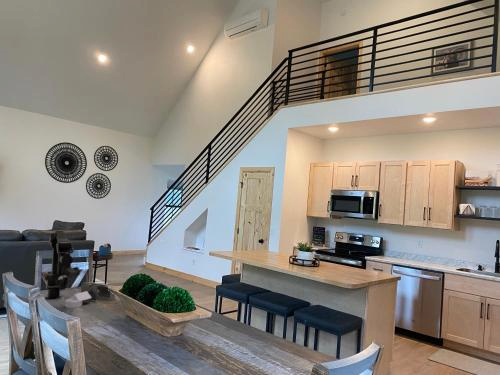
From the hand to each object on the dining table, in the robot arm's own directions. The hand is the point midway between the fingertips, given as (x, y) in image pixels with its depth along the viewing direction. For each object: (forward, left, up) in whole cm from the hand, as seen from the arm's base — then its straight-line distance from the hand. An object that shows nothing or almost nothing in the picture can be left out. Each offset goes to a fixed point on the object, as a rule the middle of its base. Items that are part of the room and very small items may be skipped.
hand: (62, 290), depth 205 cm
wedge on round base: (0, +11, -11) cm, 16 cm away
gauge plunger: (0, +23, -10) cm, 25 cm away
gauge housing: (0, +28, -11) cm, 30 cm away
